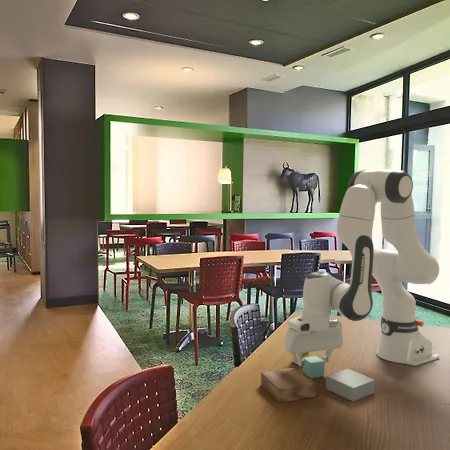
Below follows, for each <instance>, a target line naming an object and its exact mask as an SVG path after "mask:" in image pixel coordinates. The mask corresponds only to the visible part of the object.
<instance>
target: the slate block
mask: <svg viewBox="0 0 450 450" xmlns="http://www.w3.org/2000/svg"><path fill="white" fill-rule="evenodd" d="M325 381H326V382H325V389H326V390H327V391H330V392H333V393H335V394H336V395H339V396H340V397H342V398H344V399H347V400H349V401H350V402H355V401H357V400H360V399H364V398H365V397H368V396H371V395H372V394H375V384H376V383H375V382H376V381H375V379H373V378H372V377H369V376H366V375H364V374H362V373H359V372H357V371H355V370H352V369H351V368H345V369H342V370H340V371H336V372H333V373H330V374H327V375H326V380H325Z"/></svg>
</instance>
